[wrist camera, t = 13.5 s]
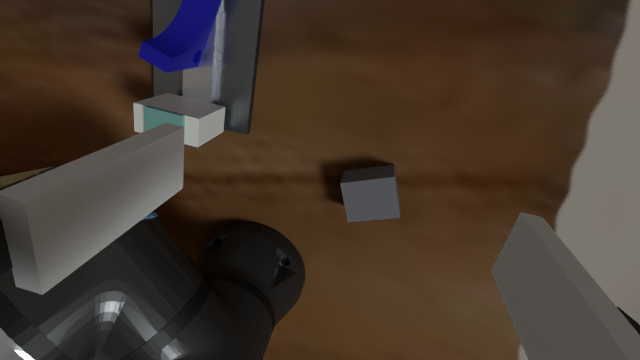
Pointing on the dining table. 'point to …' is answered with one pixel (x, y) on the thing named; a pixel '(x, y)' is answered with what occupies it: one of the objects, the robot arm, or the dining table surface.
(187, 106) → the mounted modules
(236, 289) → the robot arm
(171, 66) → the cable clip
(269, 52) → the dining table surface
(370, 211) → the block
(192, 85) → the rail
